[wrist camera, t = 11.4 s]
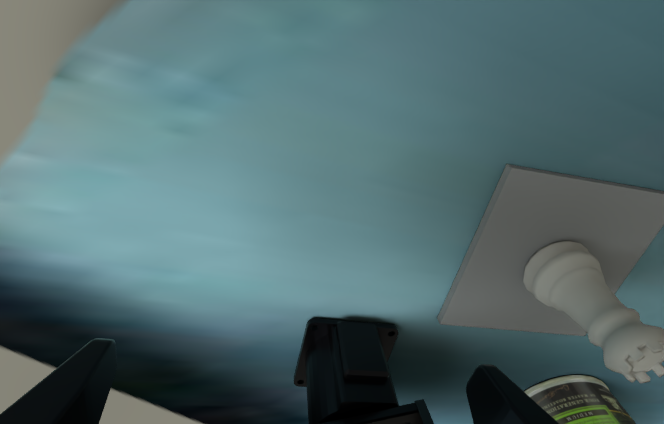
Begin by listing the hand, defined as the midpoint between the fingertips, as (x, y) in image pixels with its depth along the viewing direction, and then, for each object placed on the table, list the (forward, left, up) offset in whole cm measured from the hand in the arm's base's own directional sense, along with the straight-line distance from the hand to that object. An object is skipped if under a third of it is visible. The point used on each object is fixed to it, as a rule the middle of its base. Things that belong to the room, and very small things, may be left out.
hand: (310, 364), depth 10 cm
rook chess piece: (-4, -18, -13) cm, 22 cm away
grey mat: (-4, -18, -13) cm, 22 cm away
